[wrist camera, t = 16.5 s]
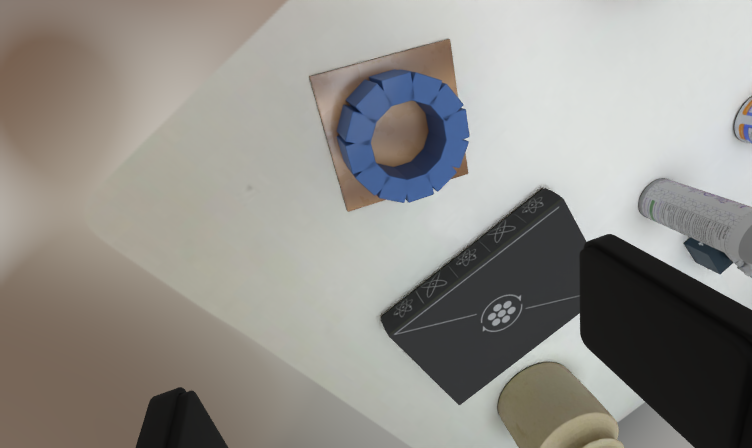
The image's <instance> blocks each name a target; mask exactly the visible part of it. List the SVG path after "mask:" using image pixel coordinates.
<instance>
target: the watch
mask: <svg viewBox="0 0 752 448" xmlns="http://www.w3.org/2000/svg"><path fill="white" fill-rule="evenodd" d="M684 244H685V246H686V248H687V249H688V251H689V252H690V254H691V255H692V257H693V258H694V260H695V261H696V263H698V264H700V265H702V266H704V267H706V268H708V269H710V270H712V271H714V272H716V273H718V274H721V273H722V272H723V271H725V270H726V269H727V268H728V267H729V266H730V265H731V264H732V263H735V264H736V265H737V266H738V267H737V268H738V269H740V270H741V271H742V272H744V274H745V275H747V276H750V277H751V278H752V264H750V263H747V262H745V261H743V260H740V259H738V258H735V257H733V256H731V255H729V254H726V253H724V252H722V251H720V250H718V249H715V248H713V247H711V246H709V245H706V244H704V243H702V242H700V241H698V240H695V239H693V238H691V237H690V238H689V239H688V240H687V241H686V242H685V243H684Z"/></svg>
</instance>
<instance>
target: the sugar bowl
mask: <svg viewBox="0 0 752 448" xmlns="http://www.w3.org/2000/svg"><path fill="white" fill-rule="evenodd" d="M498 411H499V415H500V417H501V419H502V421H503V423H504V424H505V426H506V427H507V429H508V431H509V432H510V434H511V436H512V437H513V439H514V441H515V442H516V444H517V445H518V447H519V448H624V446H623V444H622V443H621V442H620V441H618V440H617V438H618V425H617V422H616V420H615V419H614V418H613V417H612V415H611V414H610V413H609V412H608V411H607V410H606V409H605V408H604V406H603V405H602V404H601V403H600V402H599V401H598V400H597V399H596V398H595V397H594V396H593V395H592V393H591V392H590V391H589V390H588V389H587V388H586V387H585V386H584V385H583V384H582V383H581V382H580V381H579V380H578V379H577V378H576V377H575V376H574V375H573V374H572V373H571V372H570V371H569V370H568V369H567V368H566V367H564V366H562V365H560V364H558V363H552V362H548V363H540V364H536V365H533V366H531V367H528V368H527V369H525V370H523V371H521V372H520V373H519V374H517V375H516V376H515V377H514V378H513V379H512V380H511V381H510V382H509V383H508V384H507V385H506V387H505V388H504V390H503V392H502V394H501V396H500V399H499V403H498Z"/></svg>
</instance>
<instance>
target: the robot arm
mask: <svg viewBox="0 0 752 448" xmlns="http://www.w3.org/2000/svg"><path fill="white" fill-rule="evenodd" d="M579 262H580V334H581V338H582V340H583V342H584V344H585V345H586V347H587V348H588V349H589V350H590V351H591V352H592V353H594V354H595V355H596V356H597V357H598V358H599V359H600V360H601V361H602V362H603V363H604V364H605V365H606V366H608V367H609V368H610V369H611V370H612V371H613V372H614V373H615V374H616V375H617V376H618V377H619V378H620V379H621V380H623V381H624V382H625V383H626V384H627V385H628V386H629V387H630V388H631V389H632V390H633V391H634V392H635V393H637V394H638V395H639V396H640V397H641V398H642V399H643V400H644V401H645V402H646V403H647V404H648V405H649V406H651V407H652V408H653V409H654V410H655V411H656V412H657V413H658V414H659V415H660V416H661V417H662V418H663V419H665V420H666V421H667V422H668V423H669V424H670V425H671V426H672V427H673V428H674V429H675V430H676V431H677V432H679V433H680V434H681V435H682V436H683V437H684V438H685V439H686V440H687V441H688V442H689V443H690V444H691V445H692V446H693V447H695V448H752V310H751V309H749V308H747V307H745V306H743V305H741V304H740V303H738V302H736V301H734V300H732V299H730V298H729V297H727V296H725V295H723V294H721V293H719V292H718V291H716V290H714V289H712V288H710V287H708V286H707V285H705V284H703V283H701V282H699V281H697V280H696V279H694V278H692V277H690V276H688V275H686V274H685V273H683V272H681V271H679V270H677V269H675V268H674V267H672V266H670V265H668V264H666V263H664V262H662V261H661V260H659V259H657V258H655V257H653V256H651V255H650V254H648V253H646V252H644V251H642V250H640V249H639V248H637V247H635V246H633V245H631V244H629V243H628V242H626V241H624V240H622V239H620V238H618V237H617V236H615V235H612V234H607V235H604V236H601V237H599V238H596V239H593V240H590V241H588V242H586V243H585V245H584V248H583V250H581V252H580V255H579ZM136 448H228V446H227V445H226V443H225V441H224V440H223V438H222V436H221V435H220V433H219V431H218V430H217V428H216V426H215V425H214V423H213V421H212V420H211V418H210V416H209V415H208V413H207V411H206V410H205V408H204V406H203V404H202V403H201V401H200V399H199V398H198V396H197V394H196V393H195V392H194V391H189V392H186V391H185V389H183V388H181V387H180V388H176V389H174V390H171V391H168V392H165V393H163V394H160V395H157V396H154V397H153V398H152V399H151V400H150V402H149V405H148V408H147V412H146V415H145V418H144V422H143V425H142V429H141V432H140V435H139V438H138V442H137V445H136Z"/></svg>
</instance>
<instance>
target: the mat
mask: <svg viewBox="0 0 752 448" xmlns="http://www.w3.org/2000/svg"><path fill="white" fill-rule="evenodd" d="M394 69H396V70H400V69H401V70H406V71H412V72H417V73H420V74H423V75H426V76H430V77H433V78H436V79H439V80H442V83H446V84H447V85H448V86H449V87H450V88H451V90H452V91H453V92H454V93H455V95H456V96H457V97H458V95H457V88H456V80H455V73H454V66H453V58H452V51H451V43H450V39H446V40H443V41H439V42H435V43H432V44H428V45H424V46H420V47H417V48H413V49H409V50H405V51H402V52H398V53H394V54H391V55H387V56H383V57H379V58H376V59H372V60H368V61H365V62H361V63H357V64H353V65H350V66H346V67H342V68H339V69H335V70H331V71H327V72H324V73H320V74H316V75H312V76H309V78H310V82H311V85H312V89H313V92H314V96H315V99H316V103H317V106H318V110H319V113H320V117H321V120H322V124H323V127H324V131H325V134H326V138H327V142H328V145H329V149H330V152H331V156H332V159H333V163H334V166H335V170H336V173H337V177H338V180H339V184H340V187H341V191H342V194H343V198H344V201H345V205H346V208H347V211H348V212H349V211H352V210H355V209H358V208H361V207H364V206H368V205H371V204H374V203H377V202H380V201H383V200H386V199H381V198H379V197H378V196H377V195H375V196H374V195H373V194H372V193H371V192H370V191H369V190H368V189H366V188H365V187H364V186H363V185H362V184H361V183H360V182H359V181H358V180H357V179H356V178H355V177H354V175H353V174H352V173H351V171H350V170H349V169H348V167H347V166H346V164H345V162H344V161H343V157H342V154H341V150H340V147H339V143H338V140H337V136H339V133H338V132H337V128H338V123H339V119H340V115H341V111H342V107H343V105H348V106H350V104H349V103H348V102H347V101H346V99H347V98H348V97H349V96H350V95H351V93H352V92H353V91H354V90H355V89H356V88H357V87H358V86H359V85H360V84H361V83H362V82H363V81H364V80H368V81H370V80H369V77H370V76H373V75H376V74H380V73H383V72H387V71H390V70H394ZM428 132H429V129H428V124H427V119H426V113H425V112H424V111H423V110H422V109H421V107H420V106H419V105H418V104H417V103H416V102H415V101H412V100H411V101H408V102H404V103H401V104H398V105H394V106H391V107H390V108H389V110H388V111H387V112H386V113H385V114H384V115H383V116H382V117H381V118H380V119H379V120H378V121H377V122H376V125H375V129H374V133H373V136H372V140H371V145H372V149H373V153H374V157H375V161H376V163H378V164H382V165H387V166H391V167H396V166H399V165H402V164H405V163H408V162H411V161H412V160H413V159H414V158H415V157H416V156H417V155H418V154H419V153H420V152H421V151H422V150H423V148H424V145H425V142H426V139H427V136H428ZM453 168H454V169H455V170H456V171H457V173H456V174H455V175H454V176H453V177H452V178H451V179H453V178H456V177H459V176H462V175H465V174H468V169H467V161H466V154H464V157H463V160H462V163H461V166H460V168H456V167H453Z"/></svg>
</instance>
